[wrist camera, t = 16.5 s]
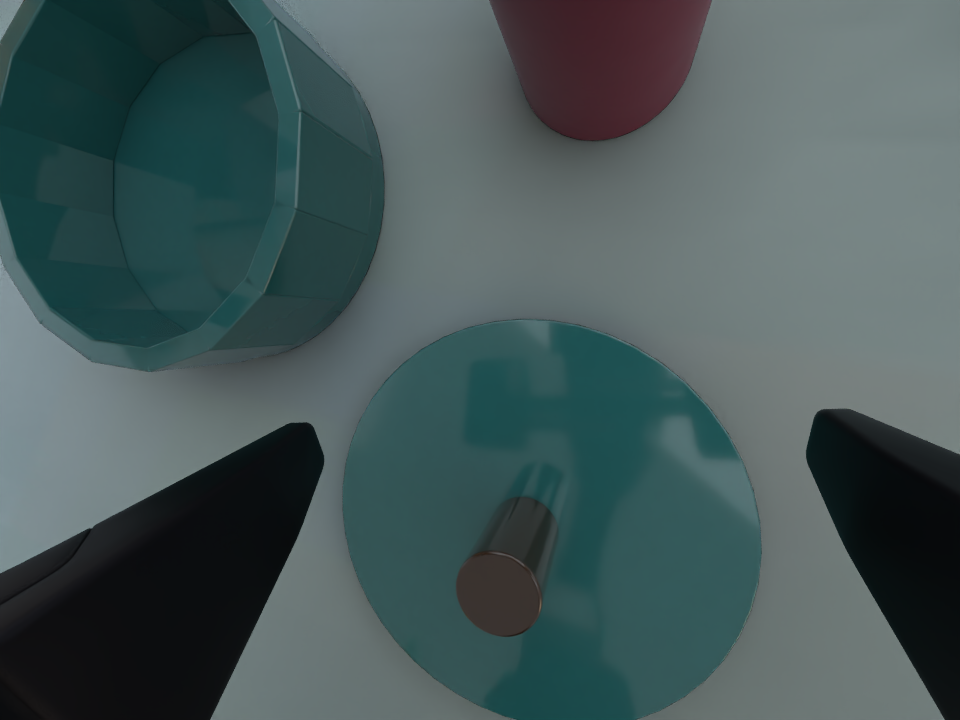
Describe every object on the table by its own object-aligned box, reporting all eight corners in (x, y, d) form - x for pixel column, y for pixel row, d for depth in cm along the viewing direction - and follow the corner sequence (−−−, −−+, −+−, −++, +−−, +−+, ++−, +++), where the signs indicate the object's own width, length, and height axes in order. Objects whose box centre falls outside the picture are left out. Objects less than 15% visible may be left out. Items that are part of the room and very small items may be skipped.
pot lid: (606, 781, 17) (604, 969, 12) (306, 553, 20) (206, 629, 15) (852, 461, 14) (984, 538, 9) (454, 249, 17) (389, 219, 12)
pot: (303, 414, 19) (202, 445, 14) (92, 271, 22) (-52, 256, 17) (443, 103, 16) (374, 13, 12) (180, -17, 19) (37, -129, 14)
